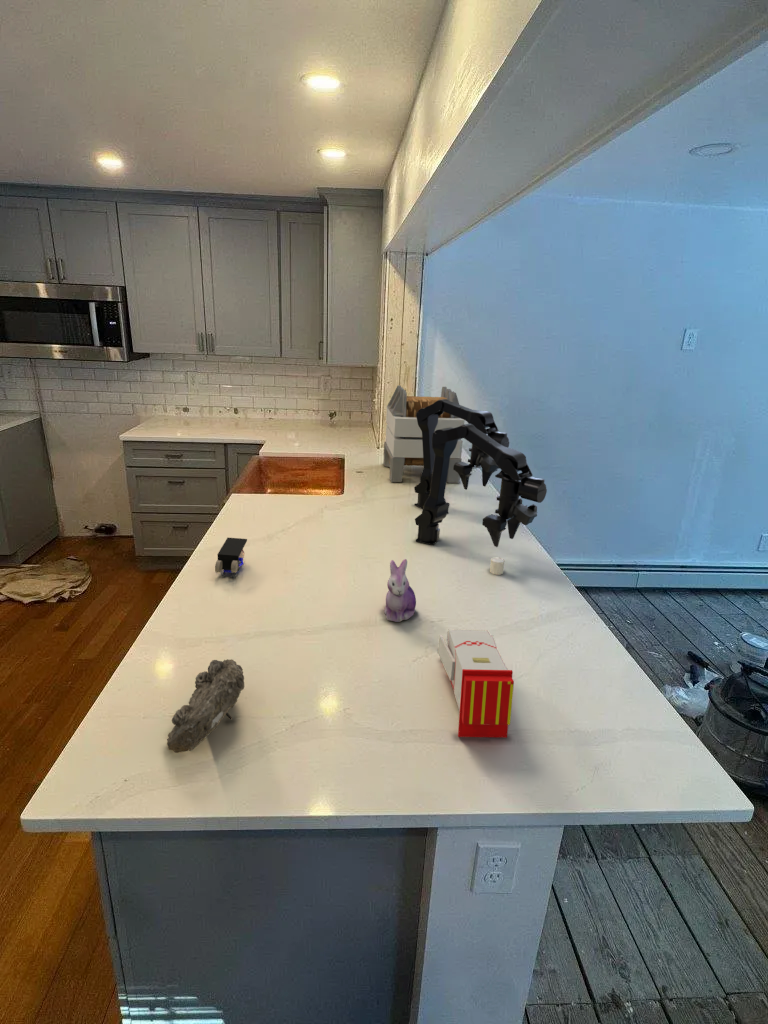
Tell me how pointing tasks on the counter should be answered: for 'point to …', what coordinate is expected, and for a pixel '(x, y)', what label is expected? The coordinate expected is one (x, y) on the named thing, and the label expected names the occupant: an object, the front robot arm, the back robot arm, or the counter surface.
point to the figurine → (399, 594)
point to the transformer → (415, 433)
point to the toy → (478, 682)
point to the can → (497, 566)
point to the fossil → (206, 705)
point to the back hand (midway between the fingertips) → (475, 487)
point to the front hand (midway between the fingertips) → (503, 542)
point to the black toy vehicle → (230, 556)
